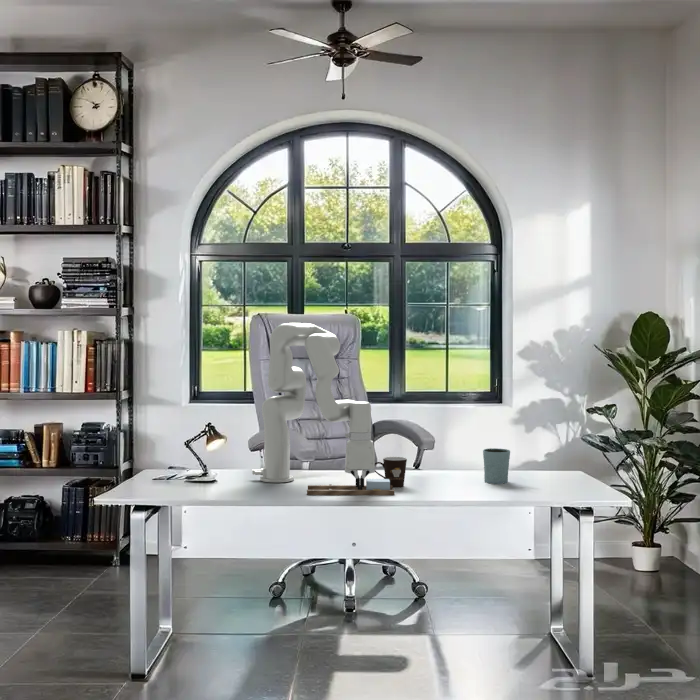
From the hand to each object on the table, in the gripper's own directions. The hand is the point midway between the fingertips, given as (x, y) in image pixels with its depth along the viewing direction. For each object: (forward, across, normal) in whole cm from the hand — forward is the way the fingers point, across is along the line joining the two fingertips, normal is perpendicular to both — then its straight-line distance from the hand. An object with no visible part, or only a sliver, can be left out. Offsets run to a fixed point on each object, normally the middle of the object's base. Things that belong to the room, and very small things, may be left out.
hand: (359, 489), depth 316 cm
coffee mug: (+1, +12, +13) cm, 18 cm away
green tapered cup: (+1, +52, +21) cm, 56 cm away
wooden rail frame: (+1, -3, 0) cm, 3 cm away
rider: (+1, +6, 0) cm, 6 cm away
